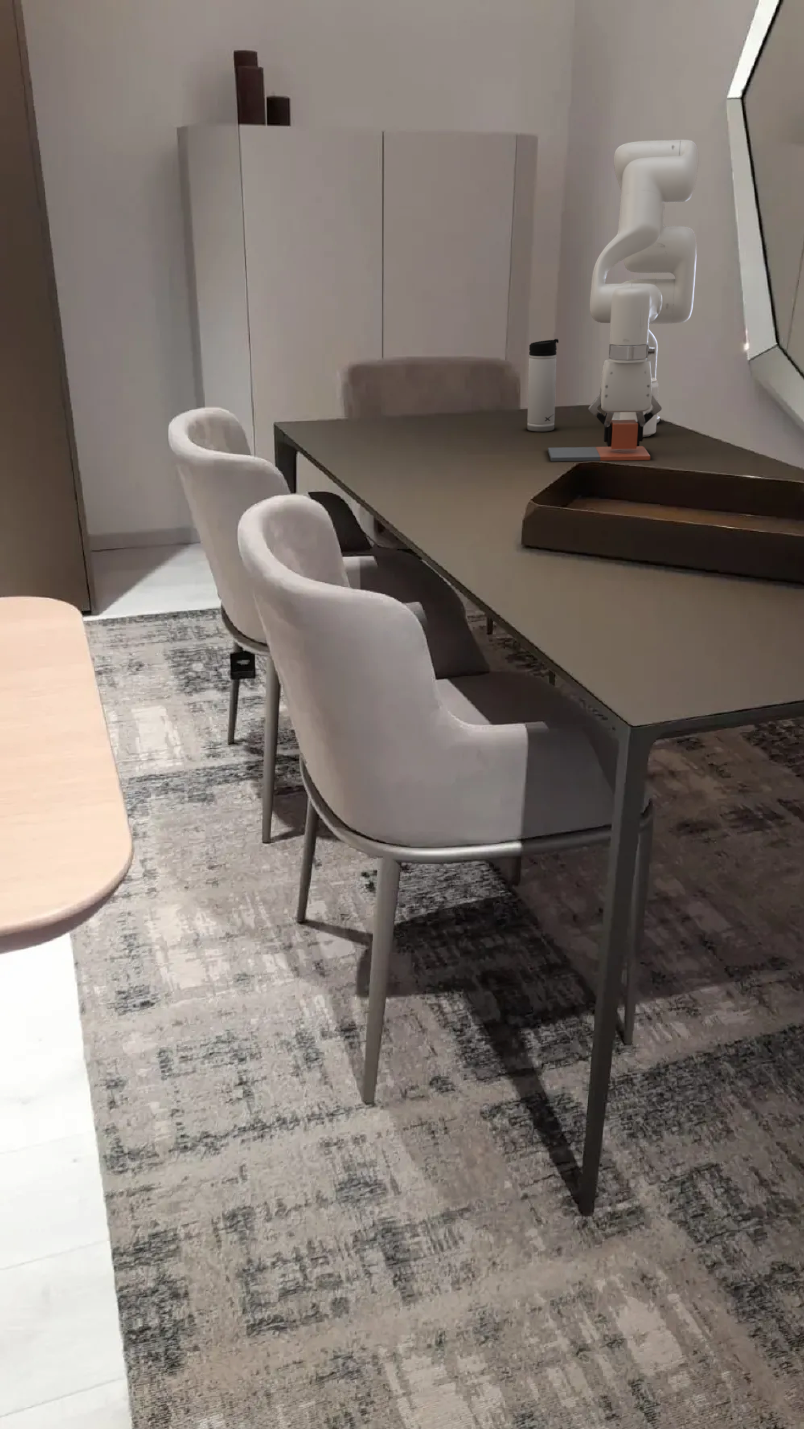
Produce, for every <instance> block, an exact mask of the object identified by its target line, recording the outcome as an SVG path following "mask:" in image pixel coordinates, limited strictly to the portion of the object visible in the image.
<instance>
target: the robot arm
mask: <svg viewBox="0 0 804 1429" xmlns="http://www.w3.org/2000/svg"><path fill="white" fill-rule="evenodd" d="M699 155H700V153H699V148H698V146H697V144H696V142H695V141H694V140H691V139H665V140H664V139H663V140H661V139H660V140H657V139H656V140H653V139H652V140H638V141H630V142H625V143H623V144H621V145H619V146H618V147H617V148H616V149H615V152H614V154H613V166H614V174H615V177H616V181H617V184H618V186H619V188H620V201H619V202H620V203H619V214H618V224H617V225H618V226H617V233H616V235H615V236H614V237H613V238H612V239H611V240H610V241H609V242H608V243H607V244H606V246H605V247H604V248H603V249H602V251H601V252H600V254H599V255H598V257H597V259H596V261H595V263H594V267H593V269H592V275H591V284H590V285H591V286H590V295H589V312H590V316H591V318H592V319H593V320H594V321H595V322H597V323H602V324H610V325H609V326H610V327H609V343H608V348H609V349H608V359H605V360H604V361H603V365H602V371H601V377H600V387H599V394H598V395H597V397H596V398H595V399H594V400H593V401H592V403H591V404H590V405H589V407H588V408H587V410H588V412H590V413H591V414H592V415H593V416H594V417H595V418H596V419H597V420H598V421H599V422H600V423H601V424H602V425H603V426H604V427H603V443H606V447H611V444H612V426H611V421H612V420H620V412H636V416H637V423H638V433H637V446H640V444H641V443H640V442H643V440H644V437H643V426H645V424H646V423H647V422H648V421H649V420H650V419H651V418H652V417H653V416H654V415H656V414H657V422H656V424H658V423H659V422H660V418H661V417H660V416H659V415H658V413H660V412H661V411H662V409H663V407H662V406H661V405H660V403H659V401H658V402H657V400H656V399H655V398H654V396H653V395H652V379H651V378H655V379H657V364H658V352H659V351H658V350H659V345H658V344H659V343H658V341H657V338H656V336H655V335H654V334H653V332H652V331H651V330H650V325H654V324H655V325H657V324H658V325H660V324H661V325H663V324H669V325H671V324H682V323H685V322H688V321H689V319H690V318H691V316H692V313H693V308H694V299H695V284H696V270H697V256H698V255H697V254H698V242H697V235H696V233H695V231H694V229H692V227H689V226H686V225H684V226H683V225H665V212H666V211H665V210H666V203H685V202H688V201H689V200H691V198H692V197H693V194H694V192H695V189H696V184H697V179H698V169H699V161H700V156H699ZM621 261H623V264H624V267H625V269H626V270H627V271H629V272H632V273H639V274H640V273H641V274H651V273H652V274H653V273H654V274H655V273H656V274H657V273H659V274H661V273H669V274H672V275H673V276H674V278H636V279H635V278H634V279H633V278H632V279H629V280H626V281H623V282H621V283H606V281H607V276H608V274H609V272H610V270H611V269H612V268H613V267H614V266H616V265H617V264H618V263H620V262H621ZM651 404H652V409H651V410H650V411H648V412H647V413H646V414H645V415H644V414H643V411H647V410H649V409H650V407H651ZM598 408H601V410H602V411H603V412H605V414H603V413H602V412H601V411H600V410H598Z"/></svg>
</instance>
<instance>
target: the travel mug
mask: <svg viewBox="0 0 804 1429" xmlns="http://www.w3.org/2000/svg"><path fill="white" fill-rule="evenodd" d="M557 344H559V339H558V338H554V339H546V340H539V341H534V342H531V343H530V344H529V346H528V348H529V349H528V351H529V352H528V374H527V375H528V376H527V377H528V378H527V381H528V382H527V425H526V429H527V430H528V431H530V432H535V433H537V432H538V433H542V432H543V433H544V432H546V433H547V432H551V431H554V430H555V417H556V414H555V413H556V388H557V387H556V385H557V384H556V383H557V356H558V355H557Z"/></svg>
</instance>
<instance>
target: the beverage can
mask: <svg viewBox="0 0 804 1429" xmlns="http://www.w3.org/2000/svg"><path fill="white" fill-rule="evenodd" d="M651 379H652V395H653V396H654V398H655V399H656V400H657V402H658V403H659V394H660V393H659V391H660V384H659V383H658V378H656V379H655V378H651ZM651 409H652V404H651V407H650V409H649V410H647V411H643V414H644V415H645V414H646V413H647V412H648V411H650V410H651ZM657 415H658V413H657V414H656V415H654V416H653V417H652V418H651V419H650V420H649V421H648V422H647V423H646V424H645V426H643V438H645V437H646V438H647V437H650V436H652V435H654V434H656V432H657V423H656V422H657ZM620 420H635V421H636V422H637V416H636V412H620Z"/></svg>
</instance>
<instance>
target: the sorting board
mask: <svg viewBox="0 0 804 1429" xmlns="http://www.w3.org/2000/svg"><path fill="white" fill-rule="evenodd" d="M547 453H548V455H549V460H550V462H597V461H598V462H599V461H600V462H601V461H602V462H603V461H605V462H606V461H608V462H609V461H651V455H650V454H649V452H648V450H647V449H646V447H645V446H644V445H639V446H637V449H612V448H611V447H608V446H576V447H575V446H569V447H565V446H564V447H563V446H562V447H548V448H547Z"/></svg>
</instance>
